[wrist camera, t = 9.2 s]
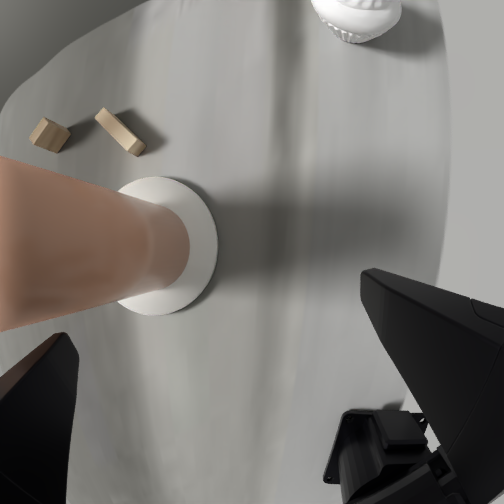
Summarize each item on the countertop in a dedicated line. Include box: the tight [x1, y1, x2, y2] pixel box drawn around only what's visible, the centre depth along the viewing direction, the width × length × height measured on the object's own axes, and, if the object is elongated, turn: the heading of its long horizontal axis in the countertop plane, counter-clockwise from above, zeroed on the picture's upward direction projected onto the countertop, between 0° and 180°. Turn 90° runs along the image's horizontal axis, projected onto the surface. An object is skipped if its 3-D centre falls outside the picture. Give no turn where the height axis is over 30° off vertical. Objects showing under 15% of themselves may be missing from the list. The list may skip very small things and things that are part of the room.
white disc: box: [118, 177, 218, 315], centre depth 20 cm, size 9×9×1 cm
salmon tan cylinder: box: [0, 156, 190, 332], centre depth 14 cm, size 6×6×13 cm
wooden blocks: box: [29, 107, 146, 157], centre depth 20 cm, size 8×9×3 cm
